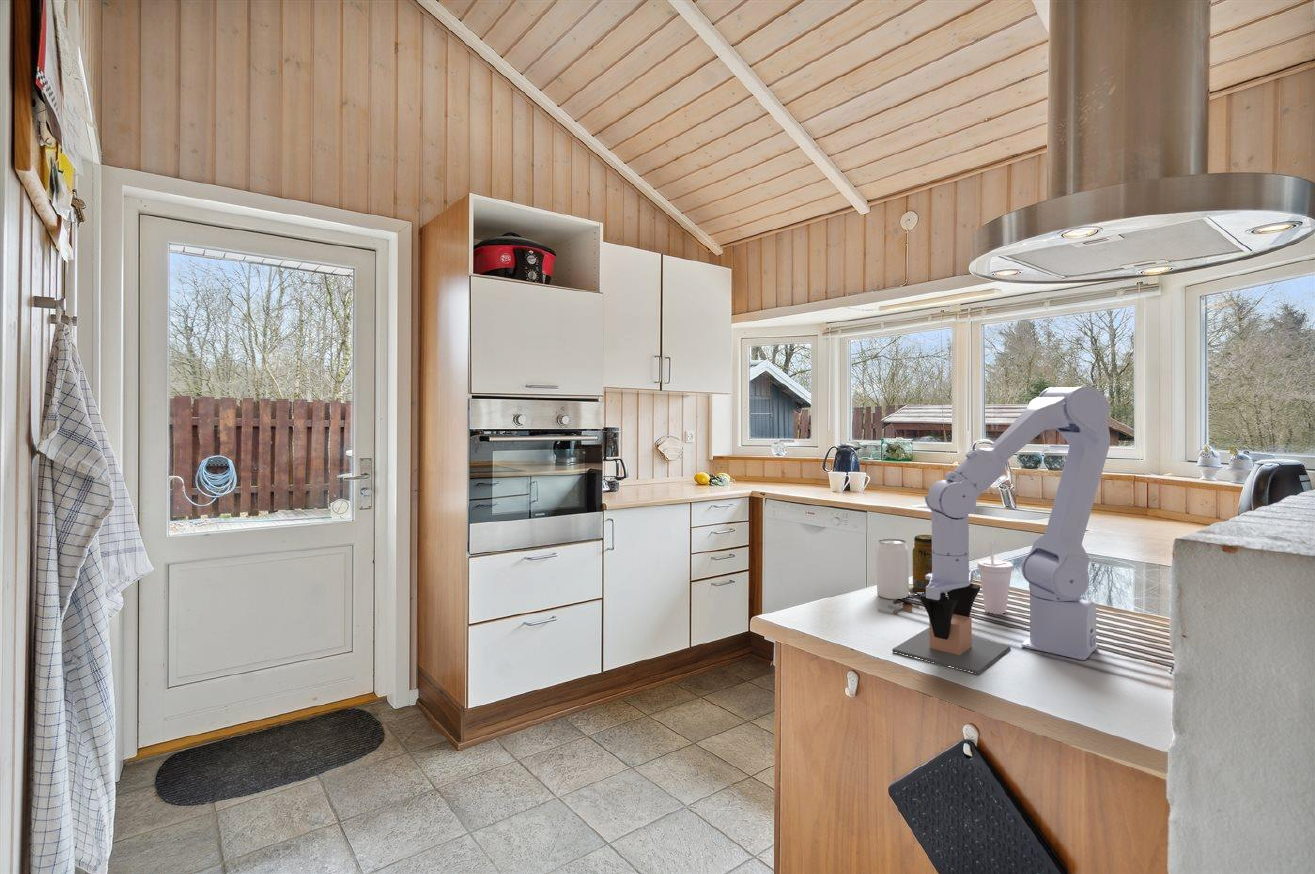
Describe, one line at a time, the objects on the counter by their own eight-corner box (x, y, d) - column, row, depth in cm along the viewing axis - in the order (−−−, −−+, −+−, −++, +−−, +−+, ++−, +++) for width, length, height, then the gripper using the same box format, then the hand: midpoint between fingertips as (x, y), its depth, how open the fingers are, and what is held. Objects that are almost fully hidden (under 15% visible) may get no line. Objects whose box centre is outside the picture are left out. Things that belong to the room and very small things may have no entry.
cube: (971, 646, 114) (971, 617, 114) (959, 655, 111) (959, 625, 110) (942, 639, 118) (942, 611, 117) (929, 647, 114) (929, 618, 114)
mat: (1010, 649, 114) (1010, 645, 114) (977, 674, 104) (977, 670, 104) (928, 630, 124) (928, 627, 124) (892, 652, 114) (892, 648, 114)
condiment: (941, 586, 152) (940, 533, 151) (948, 597, 144) (948, 541, 143) (907, 585, 153) (906, 533, 153) (912, 596, 145) (911, 541, 145)
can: (913, 599, 143) (912, 543, 142) (882, 600, 143) (881, 544, 142) (902, 591, 149) (902, 537, 148) (873, 591, 149) (872, 538, 148)
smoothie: (972, 606, 137) (971, 538, 136) (1004, 605, 137) (1004, 537, 136) (986, 616, 130) (985, 545, 130) (1020, 616, 130) (1019, 544, 129)
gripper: (944, 541, 121) (945, 616, 122) (907, 556, 111) (908, 637, 112) (985, 547, 116) (986, 624, 117) (950, 563, 106) (951, 647, 107)
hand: (950, 631), depth 114 cm, fingers open, 7 cm apart
